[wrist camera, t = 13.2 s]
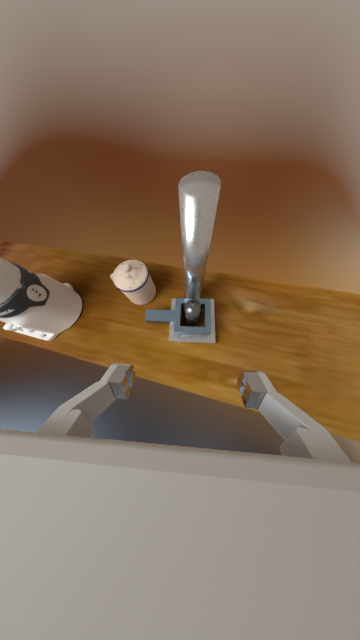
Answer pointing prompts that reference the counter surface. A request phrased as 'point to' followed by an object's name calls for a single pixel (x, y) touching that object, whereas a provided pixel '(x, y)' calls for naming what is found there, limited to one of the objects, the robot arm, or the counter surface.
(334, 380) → the counter surface
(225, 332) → the counter surface
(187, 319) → the dark grey rounded rod
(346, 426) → the counter surface
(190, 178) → the box with upright lever
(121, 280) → the teacup with lid
